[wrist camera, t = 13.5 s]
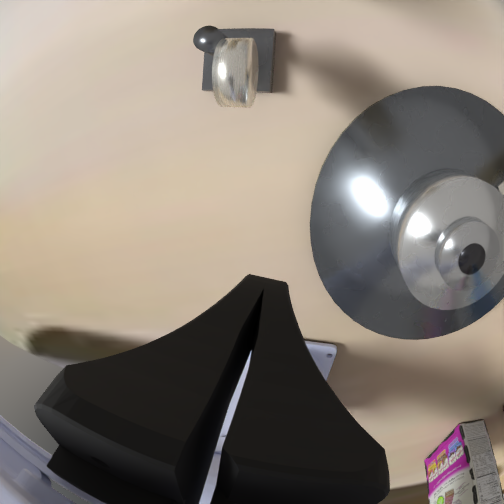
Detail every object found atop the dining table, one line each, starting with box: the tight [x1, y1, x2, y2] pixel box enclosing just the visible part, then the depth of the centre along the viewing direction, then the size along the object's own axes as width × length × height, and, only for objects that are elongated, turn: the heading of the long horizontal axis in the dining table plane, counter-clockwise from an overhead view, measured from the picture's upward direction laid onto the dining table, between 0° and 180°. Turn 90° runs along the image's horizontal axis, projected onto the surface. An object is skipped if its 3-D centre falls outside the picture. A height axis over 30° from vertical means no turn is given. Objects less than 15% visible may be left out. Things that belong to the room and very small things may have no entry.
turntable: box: [310, 86, 504, 340], centre depth 14 cm, size 18×21×4 cm
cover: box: [389, 168, 504, 310], centre depth 14 cm, size 8×8×4 cm
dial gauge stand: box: [193, 26, 276, 108], centre depth 12 cm, size 5×4×7 cm
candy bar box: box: [424, 420, 504, 504], centre depth 20 cm, size 11×5×16 cm, turn 0°
